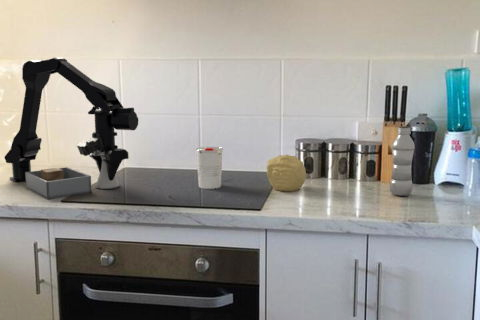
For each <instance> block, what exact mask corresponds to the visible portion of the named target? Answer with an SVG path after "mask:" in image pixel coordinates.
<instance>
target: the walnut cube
mask: <svg viewBox="0 0 480 320" xmlns="http://www.w3.org/2000/svg"><path fill="white" fill-rule="evenodd" d="M59 168H60V167H52V168H44V169H43V168H42V169H40V170H41V179H44V180H46V181H55V180H62V179H63V170H61V169H59Z"/></svg>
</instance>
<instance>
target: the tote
mask: <svg viewBox="0 0 480 320" xmlns="http://www.w3.org/2000/svg"><path fill="white" fill-rule="evenodd" d="M58 168H59V169H61V170H63V179H62V180H55V181H46V180H44V179H41V170H42V169H40V170H33V171H32V170H31V172H25V176H26V181H25V188H26V189H27V190H30V191H31V192H33V193H35V194H37V195H38V196H40V197H42V198H44V199H46V200H52V199H58V198H65V197H70V196H77V195H82V194H83V195H84V194H89V193H92V190H93V189H92V176H91V175H90V174H87V173H84V172H81V171H80V170H79V171H78V170H76V169H72V168H71V167H67V166H64V167H58Z"/></svg>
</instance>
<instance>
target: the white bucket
mask: <svg viewBox="0 0 480 320" xmlns="http://www.w3.org/2000/svg"><path fill="white" fill-rule="evenodd" d="M223 150H224V148H222V147H219V146H199V147H197V148H195V151H196V166H197V167H196V168H197V179H198V188H200V189H203V190H216V189H220V188H221V187H222V174H223V173H222V172H223V171H222V170H223V167H222V166H223ZM215 188H216V189H215Z"/></svg>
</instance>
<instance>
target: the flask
mask: <svg viewBox="0 0 480 320" xmlns="http://www.w3.org/2000/svg"><path fill="white" fill-rule="evenodd" d="M101 158H102V159H105V156H104V155H101ZM119 186H120V182H119V180H118V179H117V176H116V175H115V177H114V179H113V180H111V181H110V180H109V177H108V171H107V165H106V163H105V162H104V161H102V166H101V171H100V172H99V175H98V178H97V181H96V185H95V187H94V188H96V189H104V190H105V189H115V188H118V187H119Z"/></svg>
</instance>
